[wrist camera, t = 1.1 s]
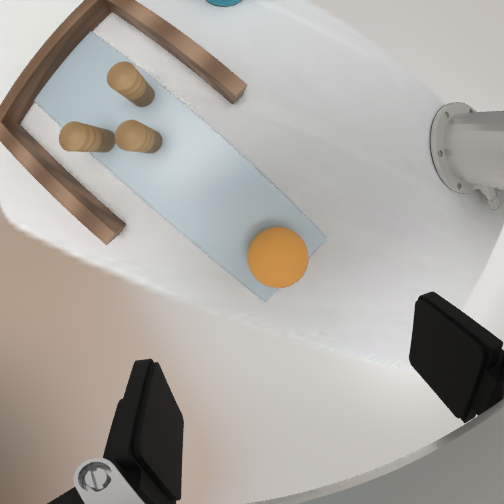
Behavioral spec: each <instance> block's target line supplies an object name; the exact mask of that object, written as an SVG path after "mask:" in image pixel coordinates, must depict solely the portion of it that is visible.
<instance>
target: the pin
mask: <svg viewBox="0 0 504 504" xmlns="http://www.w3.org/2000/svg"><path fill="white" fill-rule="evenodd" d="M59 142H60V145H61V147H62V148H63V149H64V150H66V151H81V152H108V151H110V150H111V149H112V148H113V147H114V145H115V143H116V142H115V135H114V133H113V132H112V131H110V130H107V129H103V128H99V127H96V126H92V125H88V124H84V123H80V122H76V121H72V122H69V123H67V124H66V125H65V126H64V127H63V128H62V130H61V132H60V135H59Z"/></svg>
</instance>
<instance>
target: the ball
mask: <svg viewBox="0 0 504 504" xmlns="http://www.w3.org/2000/svg"><path fill="white" fill-rule="evenodd" d="M247 259H248V265H249V268H250V271H251V273H252V274H253V276H254V277H255V278H256V279H257V280H258V281H259V282H260V283H262V284H264V285H266V286H268V287H272V288H284V287H287V286H290V285H292V284H294V283H295V282H297V281H298V280H299V279H300V278H301V277H302V276H303V274H304V273H305V271H306V268H307V265H308V250H307V247H306V244H305V242H304V241H303V239H302V238H301V237H300V236H299V235H298V234H297V233H296V232H294V231H292V230H290V229H288V228H284V227H272V228H268V229H266V230H264V231H262V232H260V233H259V234H258V235H257V236H256V237H255V238H254V239H253V241H252V242H251V244H250V246H249V250H248V256H247Z"/></svg>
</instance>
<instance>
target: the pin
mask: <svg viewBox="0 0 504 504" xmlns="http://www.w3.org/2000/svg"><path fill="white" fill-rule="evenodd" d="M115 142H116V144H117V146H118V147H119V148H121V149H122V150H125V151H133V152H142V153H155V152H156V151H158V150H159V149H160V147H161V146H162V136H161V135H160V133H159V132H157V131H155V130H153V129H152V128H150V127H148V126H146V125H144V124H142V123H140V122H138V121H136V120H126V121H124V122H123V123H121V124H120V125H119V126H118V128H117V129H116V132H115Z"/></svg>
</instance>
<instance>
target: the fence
mask: <svg viewBox="0 0 504 504" xmlns="http://www.w3.org/2000/svg"><path fill="white" fill-rule="evenodd" d="M111 12H114V13H115V14H117V15H118V16H120V17H121V18H123V19H124V20H126V21H127V22H128V23H130V24H131V25H133V26H134V27H136V28H137V29H138V30H140V31H141V32H143V33H144V34H145V35H147V36H148V37H150V38H151V39H152V40H154V41H155V42H156V43H158V44H159V45H160V46H162V47H163V48H164V49H166V50H167V51H168V52H170V53H171V54H172V55H174V56H175V57H176V58H177V59H179V60H180V61H181V62H183V63H184V64H185V65H186V66H188V67H189V68H190V69H191V70H193V71H194V72H195V73H196V74H197V75H199V76H200V77H201V78H202V79H204V80H205V81H206V82H207V83H208V84H210V85H211V86H212V87H213V88H214V89H215V90H217V91H218V92H219V93H220V94H221V95H222V96H224V97H225V98H226V99H227V100H228V101H229V102H231V103H232V104H233V103H234V102H235V101H236V100H237V99H238V98H239V97H240V96H241V95H243V93H244V91H245V89H246V87H247V84H246V83H244V82H243V81H242V80H241V79H240V78H239V77H237V76H236V75H235V74H234V73H233V72H232V71H230V70H229V69H228V68H227V67H226V66H224V65H223V64H222V63H221V62H220V61H218V60H217V59H216V58H215V57H213V56H212V55H211V54H210V53H208V52H207V51H206V50H205V49H203V48H202V47H201V46H199V45H198V44H197V43H195V42H194V41H193V40H191V39H190V38H189V37H187V36H186V35H185V34H183V33H182V32H181V31H179V30H178V29H177V28H175V27H174V26H172V25H171V24H170V23H168V22H167V21H165V20H164V19H162V18H161V17H159V16H158V15H157V14H155V13H154V12H152V11H151V10H149V9H148V8H146V7H145V6H143V5H141V4H140V3H138V2H137V1H135V0H84V1H83V2H82V3H81V4H80V5H79V6H78V7H77V8H76V9H75V10H74V11H73V12H72V13H71V14H70V15H69V16H68V17H67V18H66V20H65V21H64V22H63V23H62V24H61V25H60V26H59V27H58V28H57V29H56V30H55V32H54V33H53V34H52V35H51V36H50V37H49V39H48V40H47V41H46V42H45V43H44V45H43V46H42V47H41V48H40V49H39V51H38V52H37V53H36V54H35V56H34V57H33V58H32V60H31V61H30V62H29V64H28V65H27V66H26V68H25V69H24V70H23V72H22V73H21V75H20V76H19V77H18V79H17V80H16V82H15V83H14V85H13V86H12V88H11V89H10V91H9V92H8V94H7V95H6V97H5V99H4V100H3V102H2V103H1V105H0V141H1V142H2V144H3V145H4V146H5V147H6V148H7V149H8V150H9V151H10V152H11V153H12V155H13V156H14V157H15V158H16V159H17V160H18V161H19V162H20V163H21V164H22V165H23V166H24V167H25V168H26V169H27V170H28V171H29V173H30V174H31V175H32V176H33V177H34V178H35V179H36V180H37V181H38V182H39V183H40V184H41V185H42V186H43V187H44V188H45V189H46V190H47V191H48V192H49V193H50V194H51V195H52V196H53V197H55V198H56V199H57V200H58V201H59V202H60V203H61V204H62V205H63V206H64V207H65V208H66V209H67V210H68V211H69V212H70V213H71V214H72V215H73V216H75V217H76V218H77V219H78V220H79V221H80V222H81V223H82V224H83V225H84V226H85V227H87V228H88V229H89V230H90V231H91V232H92V233H93V234H94V235H96V236H97V237H98V238H99V239H100V240H101V241H102V242H103V243H105V244H106V245H107V244H108V243H110V242H111V241H112V240H113V239H114V238H115V237H117V236H118V235H119V233H120V232H121V231H122V229H123V228H124V227H125V225H126V224H125V223H124V222H123V221H121V220H120V219H119V218H118V217H117V216H116V215H115V214H113V213H112V212H111V211H110V210H109V209H108V208H107V207H106V206H104V205H103V204H102V203H101V202H100V201H99V200H98V199H97V198H96V197H94V196H93V195H92V194H91V193H90V192H89V191H88V190H87V189H86V188H85V187H84V186H82V185H81V184H80V183H79V182H78V181H77V180H76V179H75V178H74V177H73V176H72V175H71V174H70V173H69V172H67V171H66V170H65V169H64V168H63V167H62V166H61V165H60V164H59V163H58V162H57V161H56V160H55V159H54V158H53V157H52V156H51V155H50V154H49V153H48V152H47V151H46V150H45V149H44V148H43V147H42V146H41V145H40V144H39V143H38V142H37V141H36V140H35V139H34V138H33V137H32V136H31V135H30V134H29V133H28V132H27V131H26V130H25V129H24V128H23V127H22V126H21V125H20V123H21V121H22V120H23V118H24V116H25V115H26V113H27V112H28V110H29V109H30V107H31V106H32V104H33V103H34V100H35V98H36V97H37V96H38V94H39V93H40V91H41V90H42V89H43V87H44V86H45V85H46V83H47V82H48V81H49V79H50V78H51V77H52V75H53V74H54V73H55V71H56V70H57V69H58V68H59V66H60V65H61V64H62V63H63V62H64V60H65V59H66V58H67V57H68V56H69V55H70V53H71V52H72V51H73V50H74V49H75V48H76V47H77V45H78V44H79V43H80V42H81V41H82V40H83V39H84V38H85V37H86V36H87V35H88V34H89V33H90V31H91V32H92V31H93V30H94V29H95V28H96V27H97V26H98V25H99V24H100V23H101V22H102V21H103V20H104V19H105V18H106V17H107V16H108V15H109V14H110V13H111Z"/></svg>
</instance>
